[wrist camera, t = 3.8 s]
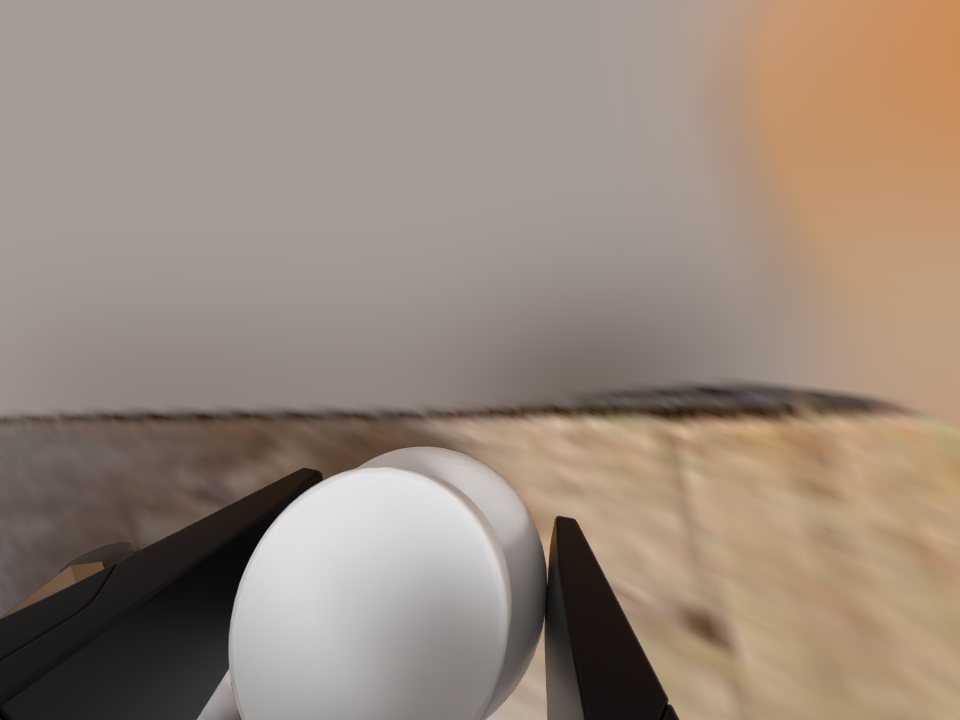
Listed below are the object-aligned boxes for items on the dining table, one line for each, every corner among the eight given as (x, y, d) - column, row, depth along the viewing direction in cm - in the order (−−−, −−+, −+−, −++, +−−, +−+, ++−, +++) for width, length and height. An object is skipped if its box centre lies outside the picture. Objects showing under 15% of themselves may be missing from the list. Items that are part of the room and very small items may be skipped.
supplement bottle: (524, 462, 15) (529, 397, 6) (548, 622, 13) (607, 882, 4) (392, 479, 15) (207, 440, 6) (395, 638, 13) (133, 911, 4)
